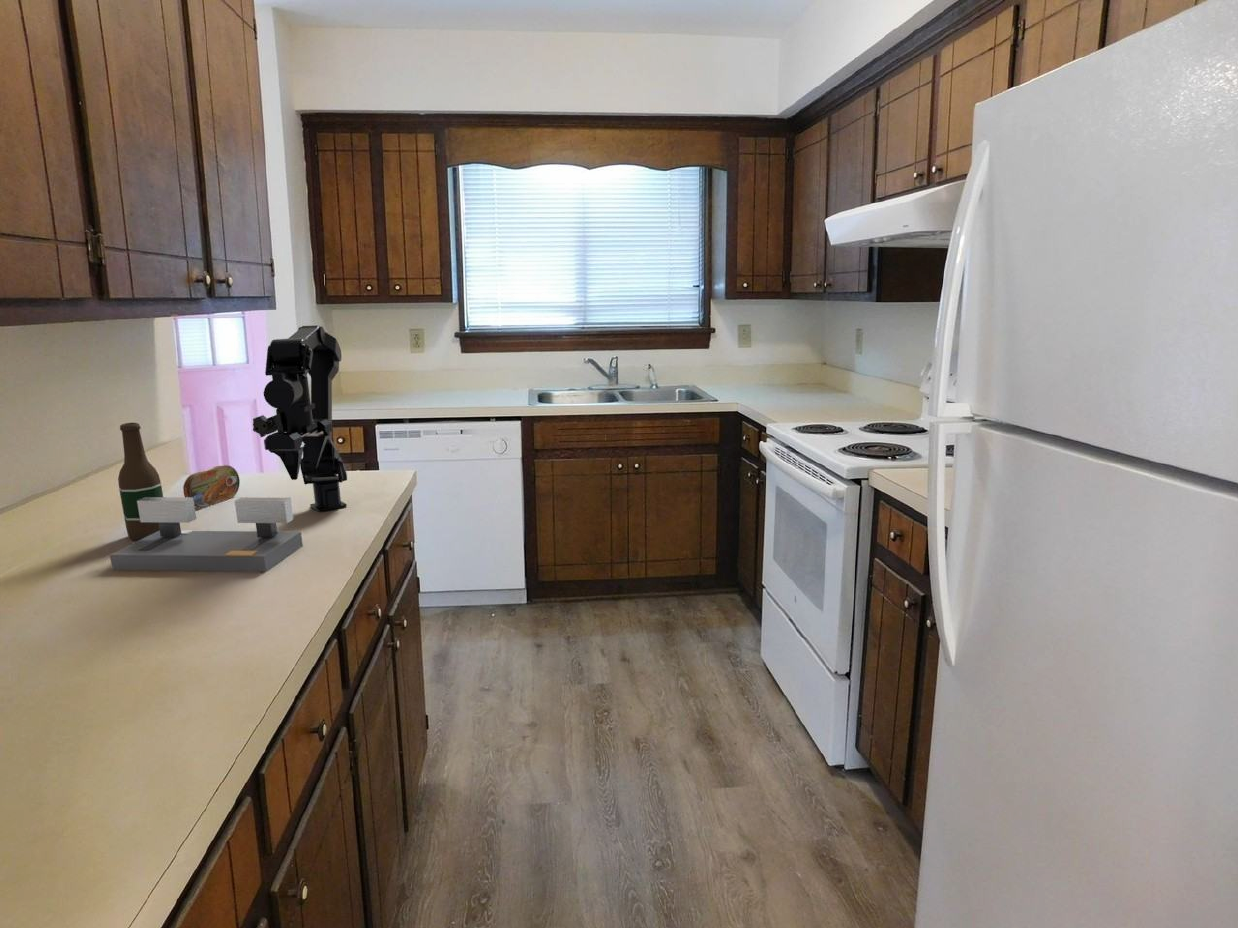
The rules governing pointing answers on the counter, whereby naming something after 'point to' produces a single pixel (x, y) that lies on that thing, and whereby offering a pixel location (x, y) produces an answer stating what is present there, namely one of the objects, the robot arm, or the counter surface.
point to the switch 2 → (264, 513)
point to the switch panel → (207, 551)
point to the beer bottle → (136, 482)
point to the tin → (212, 485)
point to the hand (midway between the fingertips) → (304, 473)
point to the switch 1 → (167, 513)
